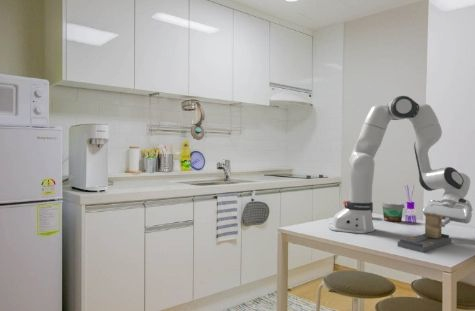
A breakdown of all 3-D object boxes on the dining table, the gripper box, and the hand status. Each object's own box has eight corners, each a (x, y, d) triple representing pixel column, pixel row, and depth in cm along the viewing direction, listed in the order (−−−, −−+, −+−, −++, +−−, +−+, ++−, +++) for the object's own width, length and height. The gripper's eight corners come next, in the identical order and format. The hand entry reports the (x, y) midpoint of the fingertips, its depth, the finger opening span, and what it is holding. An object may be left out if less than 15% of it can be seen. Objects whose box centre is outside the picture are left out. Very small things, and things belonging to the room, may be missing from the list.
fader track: (426, 237, 175) (426, 230, 175) (451, 242, 166) (451, 235, 166) (397, 246, 160) (397, 238, 160) (423, 252, 151) (423, 244, 151)
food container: (384, 222, 205) (385, 204, 204) (381, 220, 211) (381, 202, 210) (407, 223, 204) (408, 205, 204) (403, 220, 210) (403, 203, 210)
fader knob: (429, 234, 170) (430, 212, 170) (441, 237, 166) (441, 214, 166) (424, 236, 168) (425, 213, 167) (436, 238, 164) (437, 215, 163)
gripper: (426, 195, 183) (415, 217, 178) (472, 201, 167) (462, 226, 161) (431, 203, 186) (420, 225, 181) (476, 210, 170) (466, 234, 164)
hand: (440, 225), depth 171 cm, fingers closed
